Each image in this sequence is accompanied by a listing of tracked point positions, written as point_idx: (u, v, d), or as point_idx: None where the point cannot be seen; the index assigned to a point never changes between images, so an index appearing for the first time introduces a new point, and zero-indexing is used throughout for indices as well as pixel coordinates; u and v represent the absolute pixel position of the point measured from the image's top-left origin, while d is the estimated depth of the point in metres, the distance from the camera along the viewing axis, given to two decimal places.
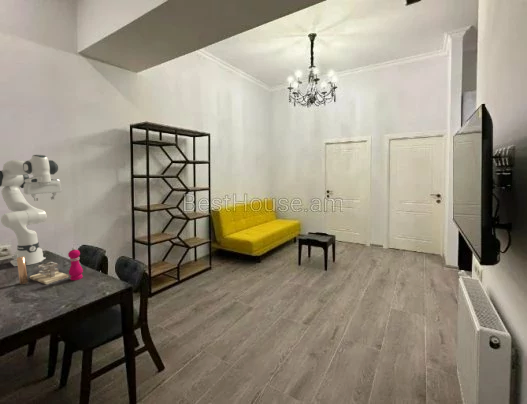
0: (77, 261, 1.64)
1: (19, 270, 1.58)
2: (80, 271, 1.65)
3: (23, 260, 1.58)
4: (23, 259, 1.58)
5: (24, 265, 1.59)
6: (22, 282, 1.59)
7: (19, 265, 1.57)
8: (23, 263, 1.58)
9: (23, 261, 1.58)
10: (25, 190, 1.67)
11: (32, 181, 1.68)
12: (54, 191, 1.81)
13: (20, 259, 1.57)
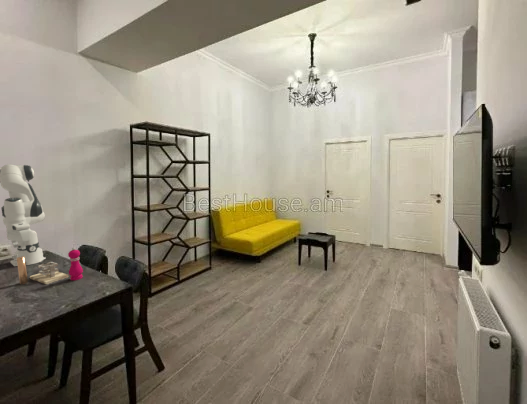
0: (77, 261, 1.64)
1: (19, 270, 1.58)
2: (80, 271, 1.65)
3: (23, 260, 1.58)
4: (23, 259, 1.58)
5: (24, 265, 1.59)
6: (22, 282, 1.59)
7: (19, 265, 1.57)
8: (23, 263, 1.58)
9: (23, 261, 1.58)
10: (28, 237, 1.53)
11: None
12: None
13: (20, 259, 1.57)
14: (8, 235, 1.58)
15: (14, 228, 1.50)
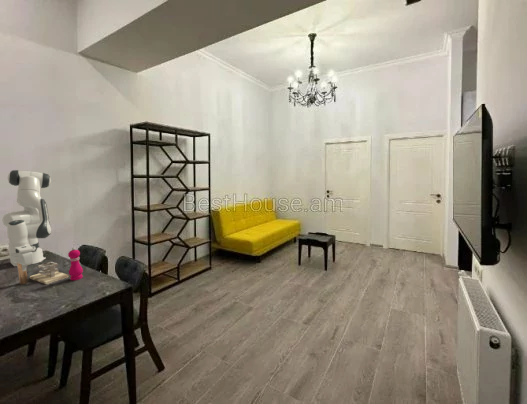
0: (77, 261, 1.64)
1: (19, 270, 1.58)
2: (80, 271, 1.65)
3: None
4: None
5: None
6: (22, 282, 1.59)
7: (19, 265, 1.57)
8: None
9: None
10: (31, 259, 1.55)
11: None
12: None
13: None
14: (11, 257, 1.60)
15: (17, 251, 1.52)
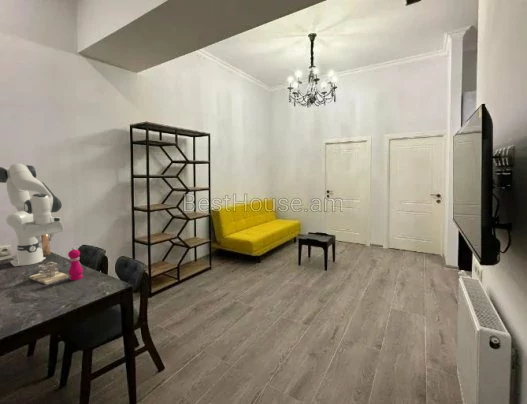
0: (77, 261, 1.64)
1: (48, 241, 1.65)
2: (80, 271, 1.65)
3: None
4: None
5: None
6: None
7: (47, 236, 1.65)
8: None
9: None
10: None
11: None
12: None
13: None
14: (31, 232, 1.57)
15: (57, 219, 1.67)
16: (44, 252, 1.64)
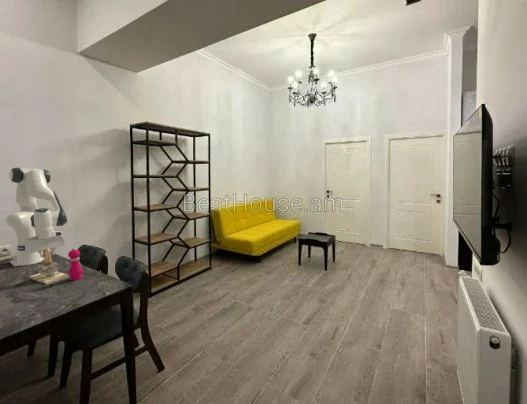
0: (77, 261, 1.64)
1: (50, 255, 1.66)
2: (80, 271, 1.65)
3: None
4: None
5: None
6: None
7: (49, 250, 1.66)
8: None
9: None
10: None
11: None
12: None
13: None
14: (33, 248, 1.58)
15: (59, 234, 1.69)
16: None
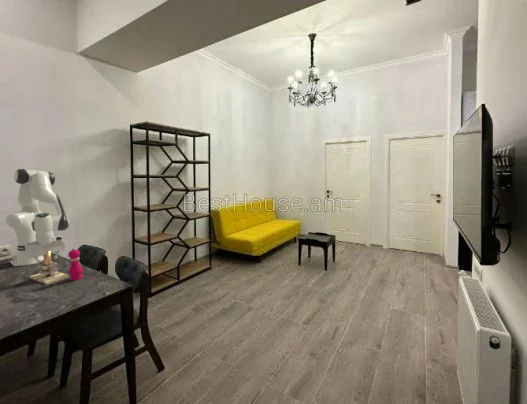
0: (77, 261, 1.64)
1: (50, 262, 1.66)
2: (80, 271, 1.65)
3: None
4: None
5: None
6: None
7: (50, 257, 1.66)
8: None
9: None
10: None
11: None
12: None
13: None
14: (33, 252, 1.58)
15: (59, 238, 1.69)
16: None
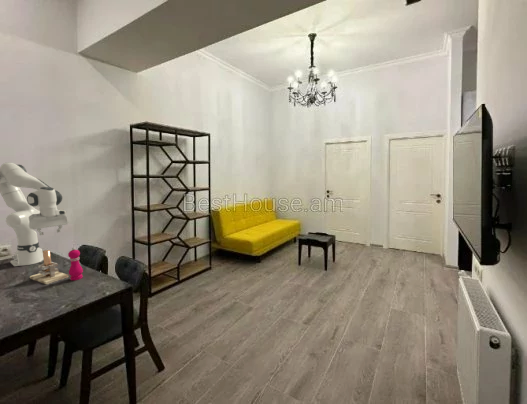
0: (77, 261, 1.64)
1: (50, 262, 1.67)
2: (80, 271, 1.65)
3: None
4: None
5: None
6: None
7: (50, 257, 1.67)
8: None
9: None
10: None
11: None
12: None
13: (49, 251, 1.67)
14: (37, 224, 1.63)
15: (62, 212, 1.73)
16: None
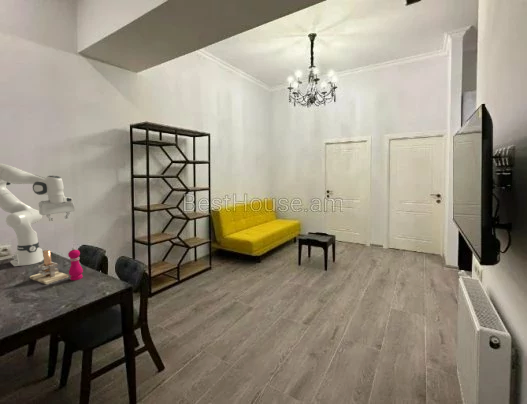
0: (77, 261, 1.64)
1: (50, 262, 1.67)
2: (80, 271, 1.65)
3: None
4: None
5: None
6: None
7: (50, 257, 1.66)
8: None
9: None
10: None
11: None
12: None
13: (50, 251, 1.67)
14: (46, 210, 1.73)
15: (69, 199, 1.84)
16: None
